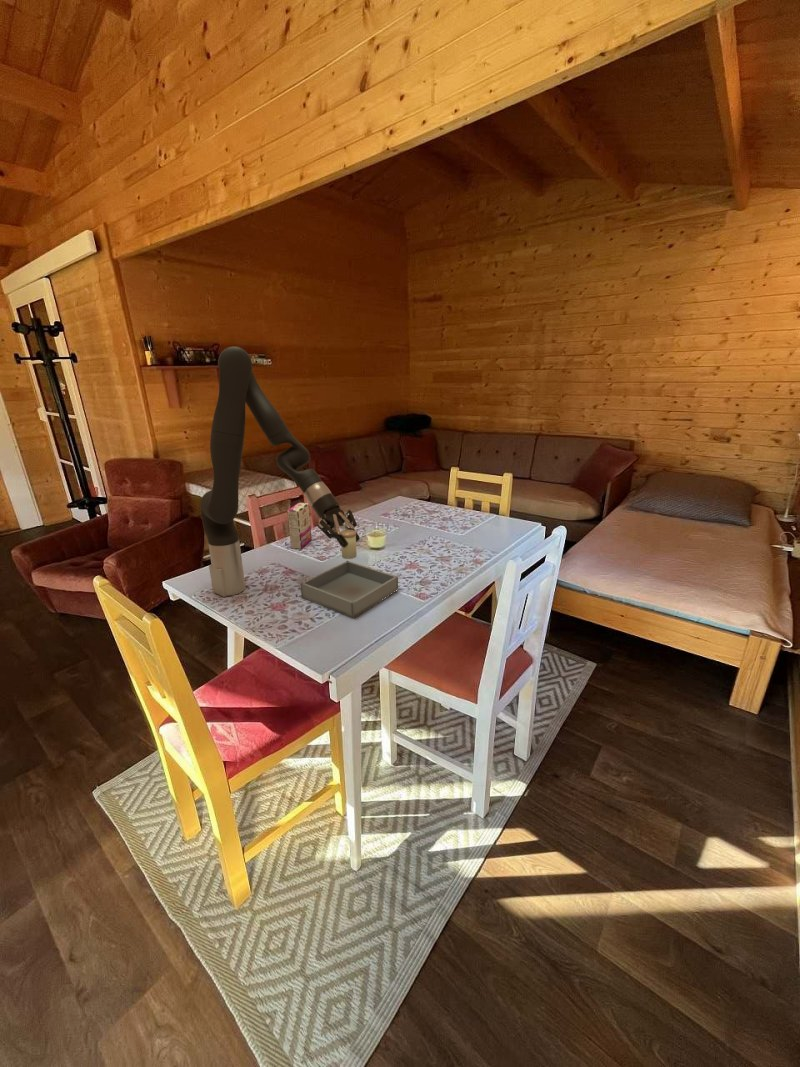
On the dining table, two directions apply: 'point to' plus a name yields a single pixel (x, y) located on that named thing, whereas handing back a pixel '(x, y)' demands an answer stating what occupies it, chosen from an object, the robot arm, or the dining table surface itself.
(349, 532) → the lidded yellow jar
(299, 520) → the candy bar box
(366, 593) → the bin
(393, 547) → the dining table surface
